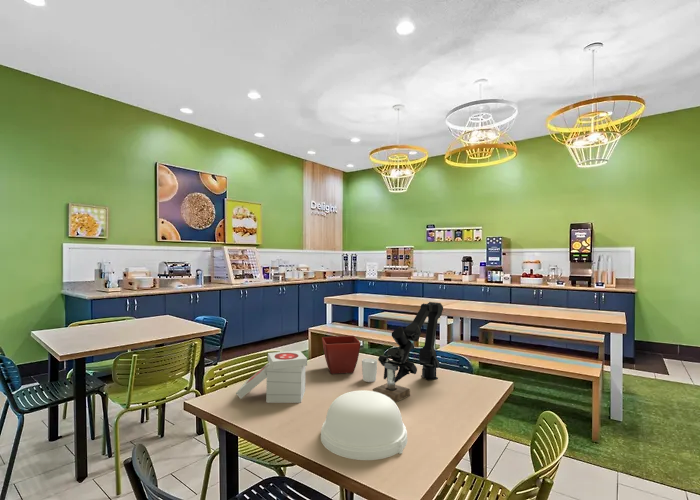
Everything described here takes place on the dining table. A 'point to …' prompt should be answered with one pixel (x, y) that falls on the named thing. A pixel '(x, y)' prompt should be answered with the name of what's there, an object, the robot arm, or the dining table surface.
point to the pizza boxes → (280, 378)
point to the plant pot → (341, 353)
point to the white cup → (369, 369)
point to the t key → (391, 375)
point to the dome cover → (364, 426)
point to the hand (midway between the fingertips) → (389, 380)
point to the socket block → (393, 392)
